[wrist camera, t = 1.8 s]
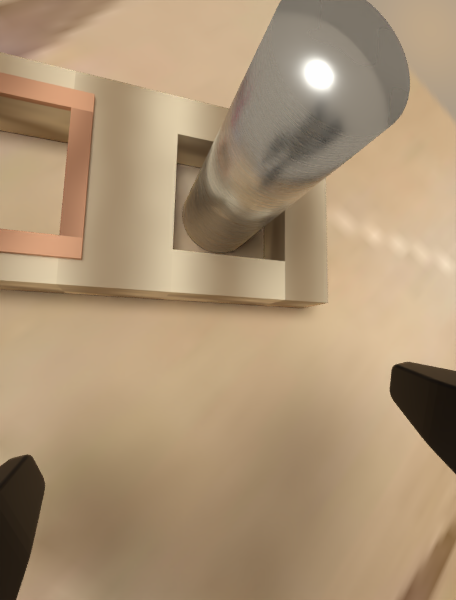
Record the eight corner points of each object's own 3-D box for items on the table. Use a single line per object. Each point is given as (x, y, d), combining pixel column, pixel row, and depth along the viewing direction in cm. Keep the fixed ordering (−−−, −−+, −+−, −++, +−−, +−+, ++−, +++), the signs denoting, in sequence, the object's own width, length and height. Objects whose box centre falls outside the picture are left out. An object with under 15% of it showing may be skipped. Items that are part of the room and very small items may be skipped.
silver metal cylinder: (263, 232, 23) (433, 102, 10) (207, 265, 21) (331, 159, 9) (226, 173, 22) (358, -33, 10) (168, 202, 21) (239, 3, 9)
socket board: (300, 156, 24) (327, 129, 21) (302, 307, 23) (331, 302, 20) (-118, 66, 17) (-171, 4, 14) (-156, 279, 16) (-224, 263, 13)
